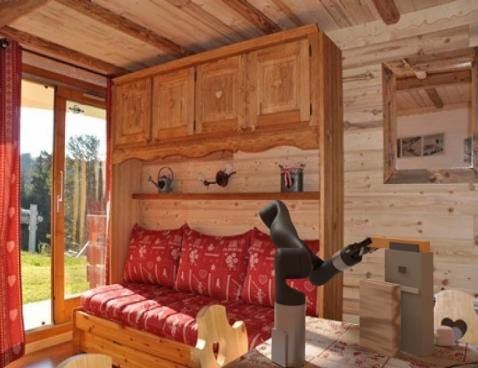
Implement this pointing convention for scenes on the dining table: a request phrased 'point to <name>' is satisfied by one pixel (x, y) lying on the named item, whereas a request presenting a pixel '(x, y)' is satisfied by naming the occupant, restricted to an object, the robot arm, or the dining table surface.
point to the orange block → (384, 242)
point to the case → (413, 295)
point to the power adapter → (443, 336)
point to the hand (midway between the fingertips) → (378, 239)
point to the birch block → (380, 316)
